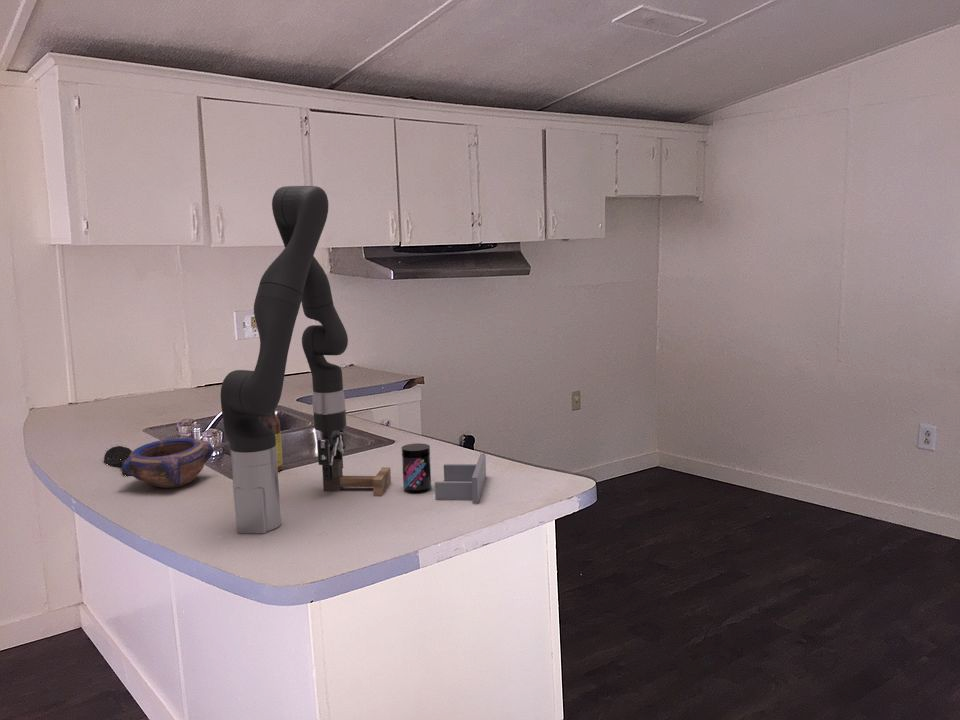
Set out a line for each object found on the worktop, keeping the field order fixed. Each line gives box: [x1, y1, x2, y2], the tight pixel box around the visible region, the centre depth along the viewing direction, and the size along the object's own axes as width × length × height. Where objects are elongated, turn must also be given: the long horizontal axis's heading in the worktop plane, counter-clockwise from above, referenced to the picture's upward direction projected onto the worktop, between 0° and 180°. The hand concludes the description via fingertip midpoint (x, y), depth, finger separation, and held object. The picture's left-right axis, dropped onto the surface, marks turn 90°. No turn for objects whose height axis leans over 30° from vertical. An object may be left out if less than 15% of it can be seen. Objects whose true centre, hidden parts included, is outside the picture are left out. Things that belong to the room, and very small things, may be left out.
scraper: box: [321, 458, 392, 497], centre depth 193 cm, size 10×15×7 cm, turn 84°
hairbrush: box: [103, 444, 133, 477], centre depth 220 cm, size 8×4×25 cm
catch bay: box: [434, 453, 487, 504], centre depth 191 cm, size 20×10×6 cm, turn 174°
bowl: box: [123, 437, 215, 489], centre depth 202 cm, size 18×18×10 cm
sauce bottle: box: [259, 409, 284, 472], centre depth 210 cm, size 6×6×20 cm
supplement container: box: [401, 442, 432, 494], centre depth 191 cm, size 7×7×10 cm
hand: (333, 474), depth 194 cm, fingers open, 8 cm apart
